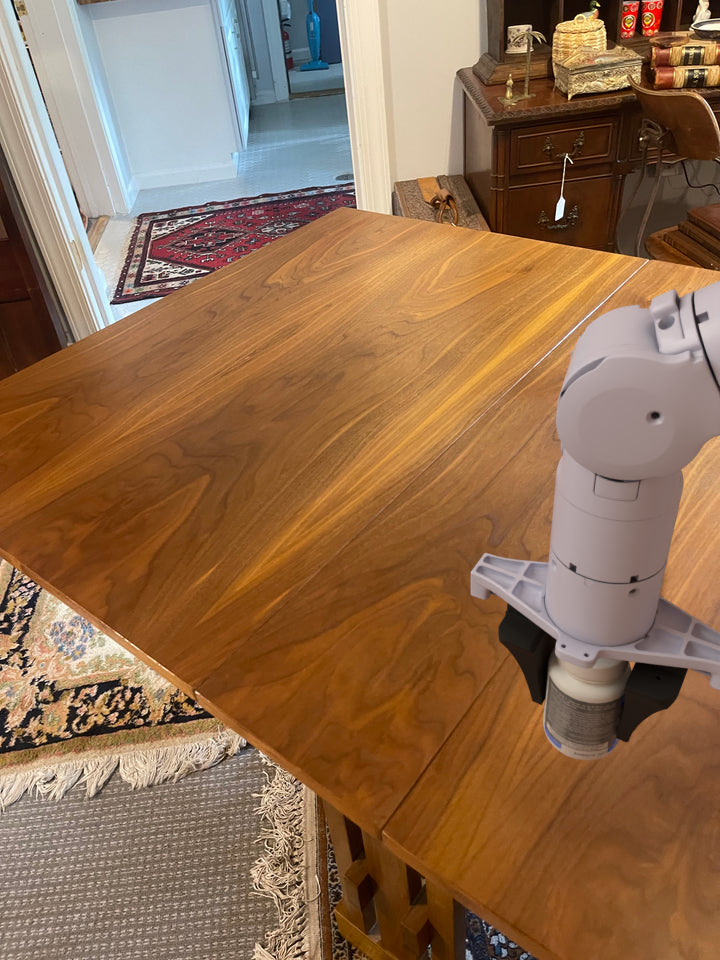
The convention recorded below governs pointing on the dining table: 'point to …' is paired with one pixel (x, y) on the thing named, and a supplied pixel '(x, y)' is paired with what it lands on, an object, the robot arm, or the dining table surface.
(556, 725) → the pill bottle
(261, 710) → the dining table surface
